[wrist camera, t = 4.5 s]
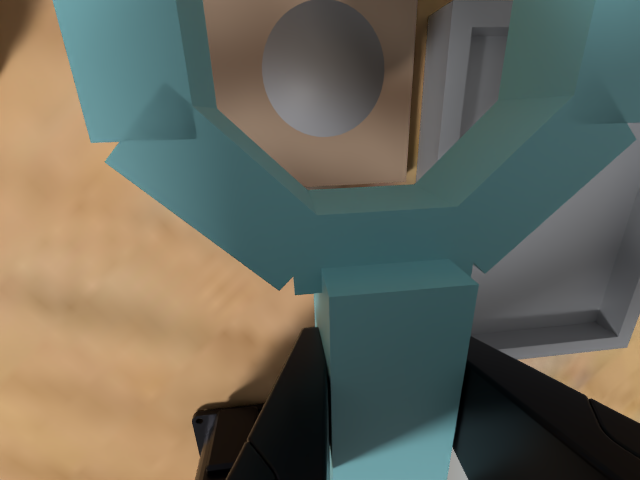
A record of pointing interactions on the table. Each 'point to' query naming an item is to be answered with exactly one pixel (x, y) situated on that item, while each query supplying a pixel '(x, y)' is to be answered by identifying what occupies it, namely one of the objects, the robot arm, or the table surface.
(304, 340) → the robot arm
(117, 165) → the ring
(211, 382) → the table surface
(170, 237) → the table surface
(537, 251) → the tray
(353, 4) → the ring
